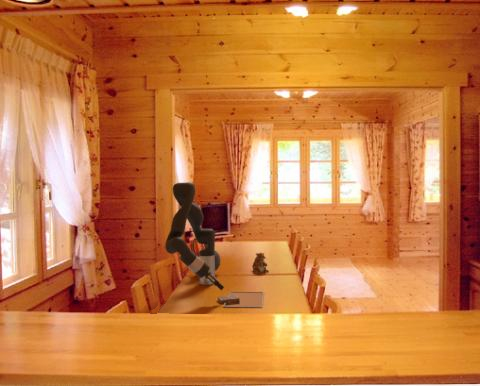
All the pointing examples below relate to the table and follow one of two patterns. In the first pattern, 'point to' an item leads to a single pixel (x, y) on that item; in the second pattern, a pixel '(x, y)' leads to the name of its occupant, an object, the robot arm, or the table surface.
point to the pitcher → (216, 255)
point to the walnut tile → (228, 299)
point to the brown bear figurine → (259, 264)
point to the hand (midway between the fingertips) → (222, 288)
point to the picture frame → (246, 300)
